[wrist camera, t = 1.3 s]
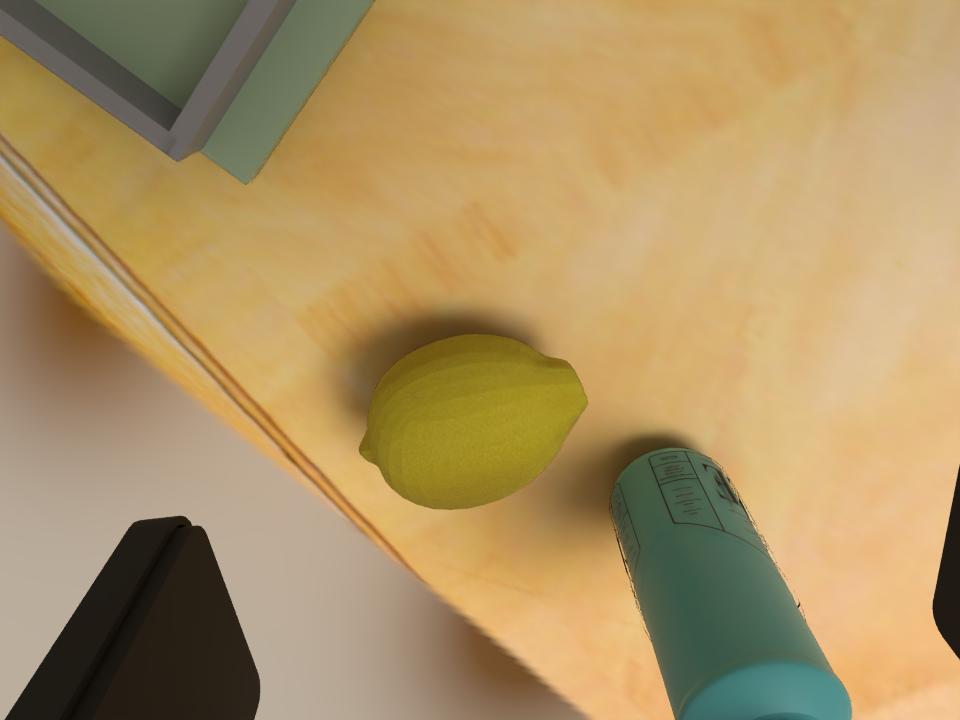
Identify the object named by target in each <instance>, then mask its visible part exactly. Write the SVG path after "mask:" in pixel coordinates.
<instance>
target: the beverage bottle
mask: <svg viewBox="0 0 960 720" xmlns="http://www.w3.org/2000/svg"><path fill="white" fill-rule="evenodd" d="M710 459H711V458H710ZM710 459H709V457H708V458H707V456H704V455H703V454H701V453H699V452H696V451H693V450H690V449H686V448H664V449H659V450H655V451H652V452H649V453H646V454H644V455H642V456H640V457H639V458H637V459H635V460H634V461H633V462H632V463H630V464H629V465H628V466H627V467H626V468H625V469H624V470H623V472H622V473H621V474H620V476H619V477H618V479H617V481H616V483H615V486H614V489H613V492H612V493H613V495H611V496H612V504H611V508H612V513H613V517H614V520H615V524H616V527H617V531H618V535H619V539H620V541H621V544H622V547H623V551H624V554H625V558H626V560H625V559H624V558H623V555H622V551H621V548H620V544H619V540H618V538H617V536H616V538H617V541H618V545H619V548H620V552H621V555H622V558H623V562H624V565H625V561H626V563H627V565H628V568H629V572H630V574H631V578H632V580H631V581H632V582H633V584H634V588H635V590H634V591H633V593H635V591H636V594H637V595H636V596H637V598H638V599H637V600H638V601H639V603H638V604H640V605H639V606H640V608H641V609H640V610H641V611H642V613H641V615H642V614H643V618H644V622H645V624H646V627H647V630H648V632H649V635H650V638H651V642H652V644H653V648H654V651H655V654H656V658H657V661H658V664H659V668H660V671H661V674H662V678H663V681H664V684H665V688H666V691H667V694H668V697H669V701H670V704H671V707H672V711H673V714H674V717H675V720H851V719H852V707H851V700H850V698H849V695H848V693H847V691H846V689H845V687H844V685H843V684H842V682H841V681H840V679H839V678H838V677H837V676H836V674H835V673H834V671H833V669H832V668H831V666H830V664H829V662H828V661H827V659H826V657H825V655H824V653H823V652H822V650H821V648H820V646H819V644H818V643H817V641H816V639H815V637H814V635H813V634H812V632H811V630H810V628H809V627H808V625H807V623H806V618H805V619H804V618H803V616H802V614H801V612H800V610H799V609H798V608H799V606H800V602H799V605H798V606H797V605H796V603H795V601H794V598H793V596H792V594H791V592H790V591H789V589H788V587H787V585H786V583H785V582H784V580H783V578H782V576H781V574H780V573H779V571H778V569H777V567H778V566H777V565H776V564H775V563H774V562H773V560H772V559H771V557H770V555H769V553H768V550H767V546H766V545H765V546H766V548H765V546H764V544H763V543H762V541H761V538H760V537H759V536H758V535H759V534H757V532H756V530H755V529H754V527H753V525H752V523H753V522H752V521H750V518H749V516H748V514H747V512H746V510H745V508H744V506H743V504H742V502H741V500H740V498H741V497H740V498H739V500H738V498H737V497H736V496H737V495H736V494H735V493H736V492H735V493H734V491H733V490H732V488H731V486H730V484H731V483H730V484H729V483H728V481H729V482H730V480H729V478H728V477H727V476H728V475H727V476H726V477H727V479H728V481H727V479H726V477H725V475H724V474H723V472H724V471H723V472H722V471H721V469H720V467H719V466H717V465H716V464H715V463H714V462H713V461H714V460H713V461H712V460H710ZM716 463H717V462H716ZM717 464H718V463H717ZM725 472H726V471H725ZM732 487H733V486H732ZM734 489H735V487H734ZM736 491H737V490H736ZM738 494H739V493H738ZM739 496H740V495H739ZM739 496H738V497H739ZM610 500H611V498H610ZM742 501H743V500H742ZM743 503H744V502H743ZM744 505H745V504H744ZM746 508H747V507H746ZM747 510H748V509H747ZM609 512H610V504H609ZM748 512H749V511H748ZM610 515H611V514H610ZM750 515H751V514H750ZM751 517H752V516H751ZM610 518H612V517H610ZM752 519H753V518H752ZM612 522H613V521H612ZM751 522H752V523H751ZM754 522H755V521H754ZM753 524H754V523H753ZM755 524H756V523H755ZM755 524H754V525H755ZM613 525H614V524H613ZM755 526H757V525H755ZM614 528H615V527H614ZM614 530H616V529H614ZM757 531H758V530H757ZM615 533H616V531H615ZM760 534H761V533H760ZM616 535H617V533H616ZM760 536H761V535H760ZM762 536H763V535H762ZM762 536H761V537H762ZM763 538H764V537H763ZM762 540H763V539H762ZM763 541H765V540H763ZM765 542H766V541H765ZM765 544H766V543H765ZM768 549H769V548H768ZM770 550H771V549H770ZM772 554H773V553H772ZM624 560H625V561H624ZM775 562H776V561H775ZM776 563H777V562H776ZM775 565H776V566H777V567H776V566H775ZM625 569H626V572H627V568H626V565H625ZM627 574H628V572H627ZM628 576H629V575H628ZM784 576H785V575H784ZM629 578H630V577H629ZM629 580H630V579H629ZM787 580H788V579H787ZM630 583H631V582H630ZM631 587H632V585H631ZM632 590H633V589H632ZM794 592H795V591H794ZM634 597H635V595H634ZM798 601H799V600H798ZM635 602H637V601H636V600H635ZM636 604H637V603H636ZM638 604H637V605H638ZM637 605H636V606H637ZM639 606H638V607H639ZM638 607H637V608H638ZM801 607H802V606H801ZM638 610H639V609H638ZM802 610H803V609H802ZM639 612H640V611H639ZM803 613H804V612H803ZM804 616H805V615H804ZM641 618H642V617H641ZM643 618H642V619H643ZM641 623H642V622H641ZM644 630H645V629H644ZM645 632H646V631H645ZM648 637H649V636H648ZM650 638H649V639H650Z"/></svg>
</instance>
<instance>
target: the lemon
mask: <svg viewBox="0 0 960 720" xmlns="http://www.w3.org/2000/svg"><path fill="white" fill-rule="evenodd" d="M587 404H588V401H587V397H586V394H585V392H584V389H583V386H582V384H581V382H580V380H579V378H578V376H577V374H576V372H575V370H574V369H573V368H572V366H571V365H570V364H569V363H568V362H567V361H565V360H562V359H557V358H551V357H547V356H544V355H542V354H541V353H539V352H537V351H536V350H534V349H532V348H531V347H529V346H528V345H526V344H524V343H522V342H519V341H517V340H514V339H511V338H507V337H503V336H498V335H488V334H463V335H458V336H452V337H448V338H445V339H442V340H438V341H435V342H433V343H430V344H428V345H425V346H422V347H421V348H419V349H417V350H415V351H413V352H411V353H409V354H407V355H406V356H405V357H403V358H402V359H400V360H399V361H397V362H396V363H395V364H394V365H393V366H392V367H391V368H390V369H389V370H388V371H387V372H386V373H385V374H384V375H383V377H382V379H381V380H380V382H379V383H378V385H377V386H376V389H375V391H374V394H373V396H372V399H371V402H370V407H369V412H368V427H367V428H368V429H367V431H366V434H365V436H364V438H363V440H362V442H361V444H360V447H359V452H360V454H361V455H362V456H363V457H364V458H365V459H366V460H367V461H369V462H371V463H373V464H375V465H377V466H378V467H379V469H380V471H381V473H382V475H383V477H384V479H385V481H386V483H387V484H388V485H389V486H390V487H391V488H392V489H393V490H394V491H396V492H397V493H398V494H399V495H400V496H402V497H403V498H405V499H407V500H409V501H411V502H413V503H415V504H417V505H421V506H424V507H428V508H432V509H447V510H453V509H467V508H472V507H477V506H481V505H485V504H488V503H491V502H494V501H497V500H500V499H502V498H504V497H506V496H508V495H510V494H512V493H514V492H516V491H517V490H519V489H521V488H522V487H524V486H525V485H527V484H528V483H530V482H531V481H532V480H533V479H534V478H535V477H536V476H538V475H539V474H540V473H541V472H542V471H543V470H544V468H545V467H546V466H547V465H548V464H549V463H550V462H551V460H552V459H553V458H554V456H555V455H556V454H557V452H558V451H559V449H560V448H561V446H562V444H563V442H564V440H565V438H566V437H567V435H568V434H569V432H570V431H571V429H572V427H573V426H574V424H575V423H576V421H577V420H578V418H579V417H580V415H581V414H582V412H583V411H584V410H585V408H586V406H587Z"/></svg>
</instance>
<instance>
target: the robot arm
mask: <svg viewBox="0 0 960 720" xmlns="http://www.w3.org/2000/svg"><path fill="white" fill-rule="evenodd" d="M932 609H933V616H934V619H935V623H936V625H937V628H938V630H939V632H940V633H941V635H942V637H943V638H944V639H945V641H946V642H947V643H948V645H949V646H950V647H951V649H952V650H953V651H954V653H955V654H956V655H957V657H958V658H959V659H960V466H959V471H958V476H957V481H956V486H955V491H954V497H953V502H952V507H951V512H950V517H949V522H948V527H947V532H946V538H945V543H944V548H943V553H942V558H941V563H940V568H939V574H938V579H937V584H936V589H935V594H934V599H933V608H932ZM259 699H260V679H259V675H258V672H257V669H256V666H255V663H254V661H253V658H252V655H251V653H250V650H249V647H248V645H247V642H246V639H245V637H244V634H243V631H242V628H241V626H240V623H239V620H238V617H237V615H236V612H235V609H234V607H233V604H232V601H231V599H230V596H229V593H228V590H227V588H226V585H225V582H224V580H223V577H222V574H221V571H220V569H219V566H218V564H217V561H216V558H215V556H214V553H213V550H212V547H211V545H210V542H209V539H208V536H207V534H206V532H205V530H204V529H203V528H202V527H201V526H192V524H191V522H190V521H189V520H188V519H187V518H186V517H184V516H174V517H165V518H157V519H147V520H140V521H137V522H134V523H133V524H132V525H131V526H130V527H129V529H128V530H127V532H126V534H125V535H124V536H123V538H122V539H121V541H120V543H119V544H118V546H117V547H116V549H115V550H114V552H113V554H112V555H111V557H110V558H109V560H108V561H107V563H106V564H105V566H104V567H103V569H102V570H101V572H100V573H99V575H98V576H97V578H96V580H95V581H94V583H93V584H92V586H91V587H90V589H89V590H88V592H87V594H86V595H85V597H84V598H83V600H82V601H81V603H80V604H79V606H78V607H77V609H76V611H75V612H74V614H73V615H72V617H71V618H70V620H69V621H68V623H67V624H66V626H65V627H64V629H63V631H62V632H61V634H60V635H59V637H58V638H57V640H56V641H55V643H54V644H53V646H52V647H51V649H50V651H49V652H48V654H47V655H46V657H45V658H44V660H43V662H42V663H41V665H40V666H39V668H38V669H37V671H36V672H35V674H34V675H33V677H32V678H31V680H30V682H29V683H28V685H27V686H26V688H25V689H24V691H23V692H22V694H21V695H20V697H19V698H18V700H17V702H16V703H15V705H14V706H13V708H12V709H11V711H10V713H9V714H8V715H7V717H6V719H5V720H254V718H255V715H256V711H257V708H258V704H259Z"/></svg>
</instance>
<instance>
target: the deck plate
mask: <svg viewBox="0 0 960 720" xmlns="http://www.w3.org/2000/svg"><path fill="white" fill-rule="evenodd" d="M374 1H375V0H0V35H1V36H2V37H4V38H5V39H7V40H8V41H9V42H11V43H12V44H14V45H15V46H16V47H18V48H19V49H21V50H22V51H23V52H25V53H26V54H28V55H29V56H30V57H32V58H33V59H35V60H36V61H37V62H39V63H40V64H41V65H43V66H44V67H46V68H47V69H48V70H50V71H51V72H53V73H54V74H55V75H57V76H58V77H60V78H61V79H62V80H64V81H65V82H67V83H68V84H69V85H71V86H72V87H74V88H75V89H76V90H78V91H79V92H80V93H82V94H83V95H85V96H86V97H87V98H89V99H90V100H92V101H93V102H94V103H96V104H97V105H99V106H100V107H101V108H103V109H104V110H106V111H107V112H108V113H110V114H111V115H113V116H114V117H115V118H117V119H118V120H120V121H121V122H122V123H124V124H125V125H126V126H128V127H129V128H131V129H132V130H133V131H135V132H136V133H138V134H139V135H140V136H142V137H143V138H145V139H146V140H147V141H149V142H150V143H152V144H153V145H154V146H156V147H157V148H159V149H160V150H161V151H163V152H164V153H165V154H167V155H168V156H170V157H171V158H172V159H174V160H175V161H177V162H179V161H181V160H183V159H184V158H186V157H188V156H190V155H192V154H194V153H196V152H197V151H200V152H201V153H203V154H204V155H205V156H207V157H208V158H210V159H211V160H212V161H214V162H215V163H216V164H218V165H219V166H221V167H222V168H223V169H225V170H226V171H227V172H229V173H230V174H232V175H233V176H234V177H236V178H237V179H238V180H240V181H241V182H242V183H244V184H245V185H247V184H248V183H249V182H250V181H252V180H253V179H254V178H255V177H256V176H257V174H258V173H259V171H260V170H261V168H262V167H263V165H264V164H265V162H266V161H267V159H268V158H269V157H270V155H271V154H272V152H273V151H274V149H275V148H276V146H277V145H278V143H279V142H280V140H281V139H282V137H283V136H284V134H285V133H286V131H287V130H288V128H289V127H290V125H291V124H292V123H293V121H294V120H295V118H296V117H297V115H298V114H299V112H300V111H301V109H302V108H303V106H304V105H305V103H306V102H307V100H308V99H309V97H310V96H311V94H312V93H313V92H314V90H315V89H316V87H317V86H318V84H319V83H320V81H321V80H322V78H323V77H324V75H325V74H326V72H327V71H328V69H329V68H330V66H331V65H332V63H333V62H334V60H335V59H336V58H337V56H338V55H339V53H340V52H341V50H342V49H343V47H344V46H345V44H346V43H347V41H348V40H349V38H350V37H351V35H352V34H353V32H354V31H355V29H356V28H357V26H358V25H359V24H360V22H361V21H362V19H363V18H364V16H365V15H366V13H367V12H368V10H369V9H370V7H371V6H372V4H373V3H374Z"/></svg>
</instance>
